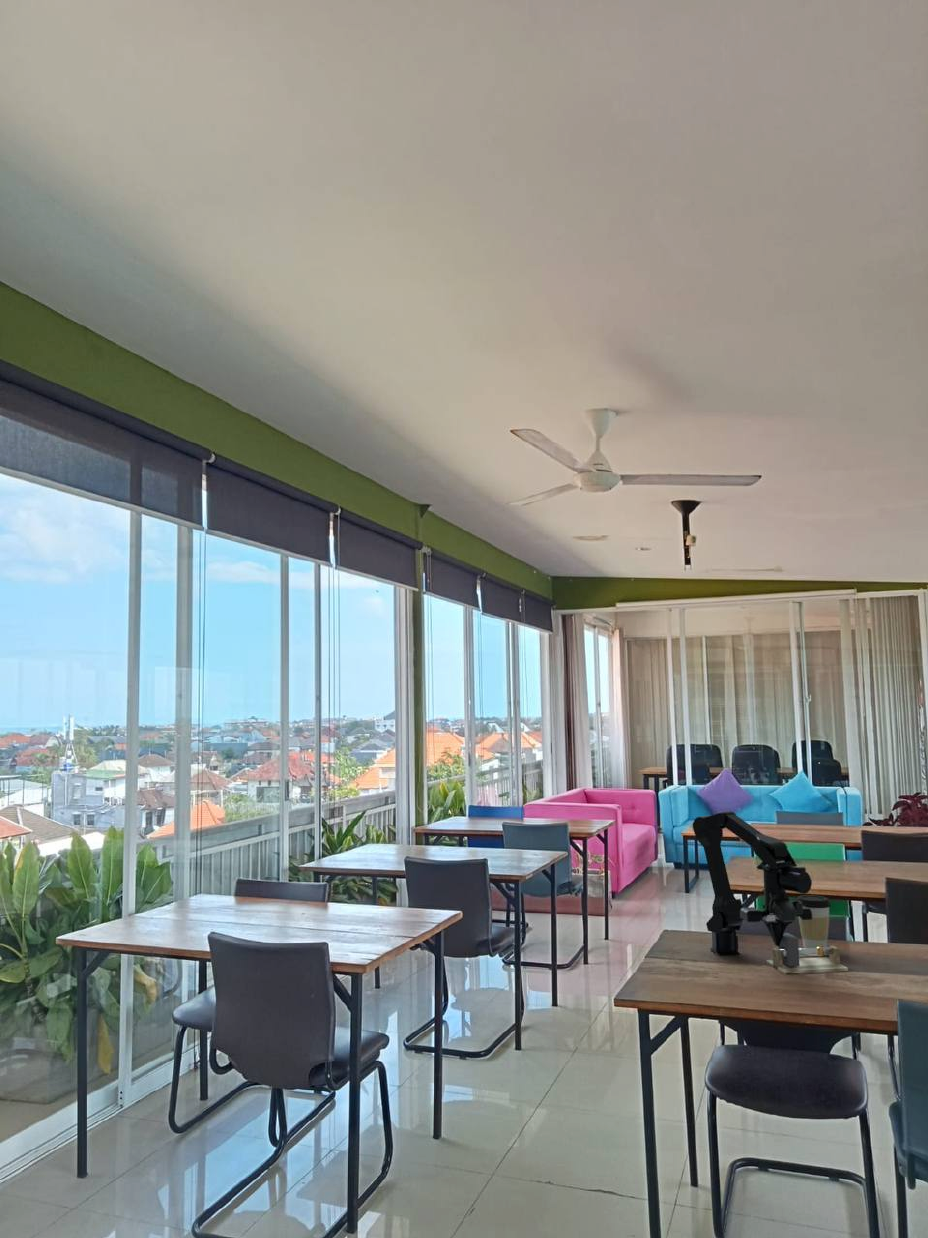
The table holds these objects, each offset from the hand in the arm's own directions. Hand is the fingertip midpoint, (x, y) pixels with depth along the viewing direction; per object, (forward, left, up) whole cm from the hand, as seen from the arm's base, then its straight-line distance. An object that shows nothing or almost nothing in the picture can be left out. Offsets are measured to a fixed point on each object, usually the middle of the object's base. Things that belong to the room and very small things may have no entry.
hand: (777, 945), depth 252 cm
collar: (+3, 0, -5) cm, 6 cm away
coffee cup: (+19, +16, -6) cm, 26 cm away
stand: (+8, 0, -6) cm, 10 cm away
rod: (+8, 0, -3) cm, 9 cm away
